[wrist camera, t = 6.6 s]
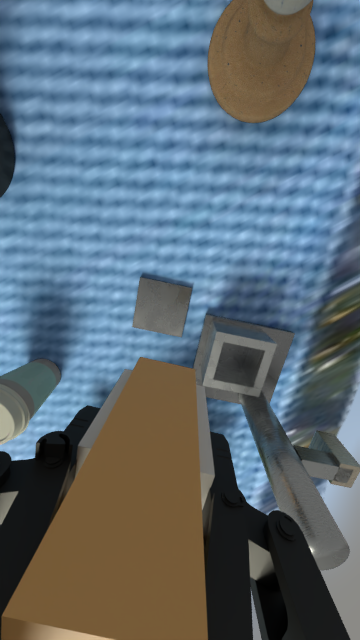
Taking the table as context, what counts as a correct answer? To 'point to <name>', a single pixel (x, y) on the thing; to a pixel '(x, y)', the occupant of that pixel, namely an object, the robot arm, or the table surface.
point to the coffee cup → (24, 395)
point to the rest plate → (161, 307)
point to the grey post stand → (276, 427)
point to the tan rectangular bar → (126, 527)
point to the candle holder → (261, 57)
